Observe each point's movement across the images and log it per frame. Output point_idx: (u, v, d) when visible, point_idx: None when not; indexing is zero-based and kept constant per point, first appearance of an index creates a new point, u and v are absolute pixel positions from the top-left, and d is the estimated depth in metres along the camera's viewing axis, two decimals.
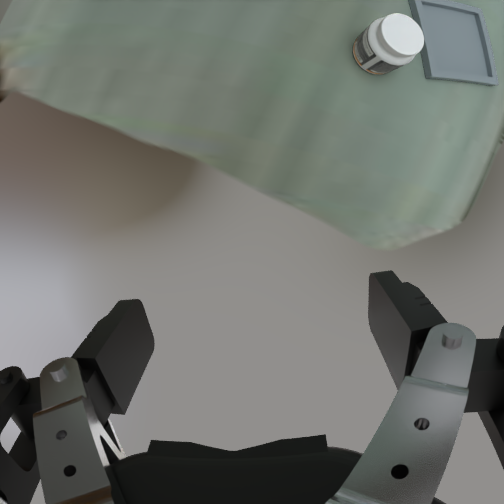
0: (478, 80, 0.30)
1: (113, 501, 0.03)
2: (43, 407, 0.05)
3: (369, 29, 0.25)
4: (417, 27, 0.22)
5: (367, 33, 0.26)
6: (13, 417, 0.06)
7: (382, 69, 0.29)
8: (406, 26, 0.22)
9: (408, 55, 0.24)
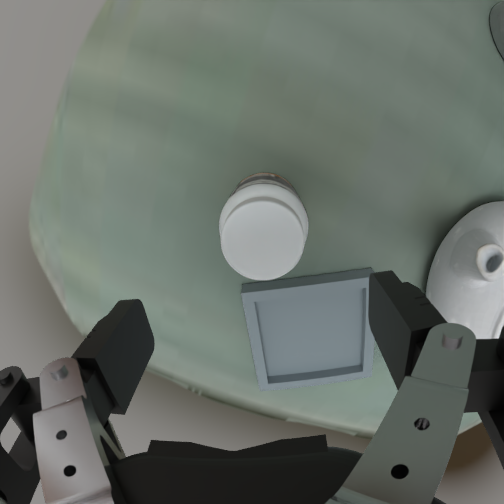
0: (256, 363, 0.31)
1: (113, 501, 0.03)
2: (43, 407, 0.05)
3: (276, 186, 0.19)
4: (282, 270, 0.18)
5: (270, 183, 0.20)
6: (13, 417, 0.06)
7: None
8: (280, 249, 0.18)
9: (222, 248, 0.18)
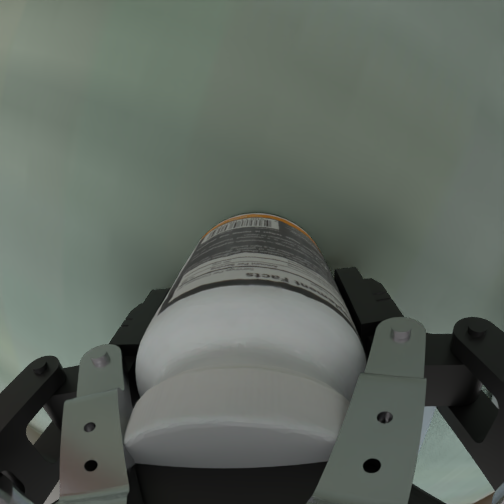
0: None
1: (113, 501, 0.03)
2: (78, 394, 0.06)
3: (289, 298, 0.06)
4: None
5: (269, 284, 0.07)
6: (47, 408, 0.07)
7: None
8: None
9: None
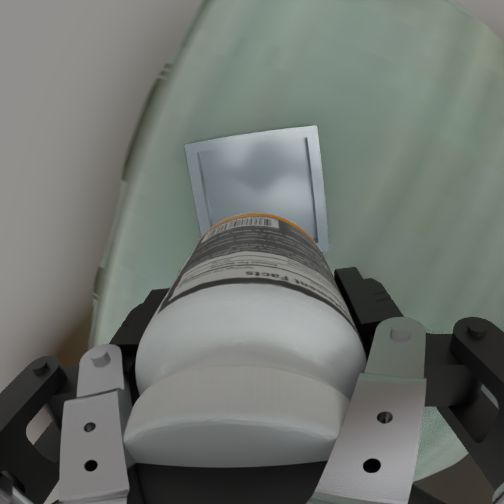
0: (228, 138, 0.28)
1: (113, 501, 0.03)
2: (78, 394, 0.06)
3: (288, 297, 0.06)
4: None
5: (269, 282, 0.07)
6: (47, 408, 0.07)
7: None
8: None
9: None
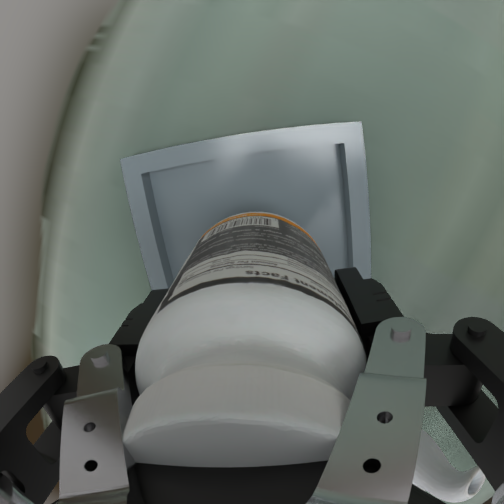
0: (196, 145, 0.15)
1: (113, 501, 0.03)
2: (78, 394, 0.06)
3: (288, 296, 0.06)
4: None
5: (269, 281, 0.07)
6: (48, 408, 0.07)
7: None
8: None
9: None
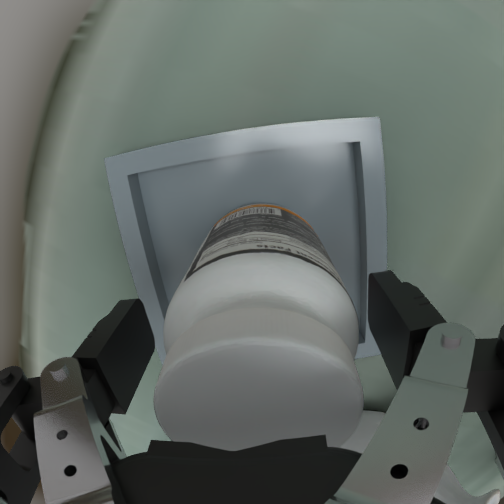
0: (189, 143, 0.13)
1: (113, 501, 0.03)
2: (44, 407, 0.05)
3: (291, 262, 0.08)
4: None
5: (276, 252, 0.08)
6: (14, 417, 0.06)
7: None
8: (301, 432, 0.06)
9: None
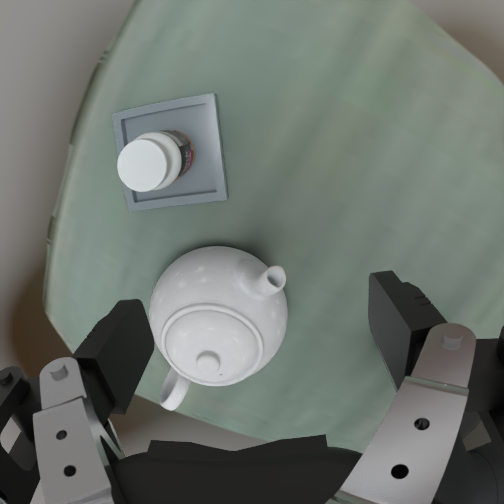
0: (143, 107, 0.32)
1: (113, 501, 0.03)
2: (43, 408, 0.05)
3: (158, 133, 0.27)
4: (153, 184, 0.26)
5: (156, 132, 0.28)
6: (13, 417, 0.06)
7: None
8: (151, 169, 0.26)
9: None
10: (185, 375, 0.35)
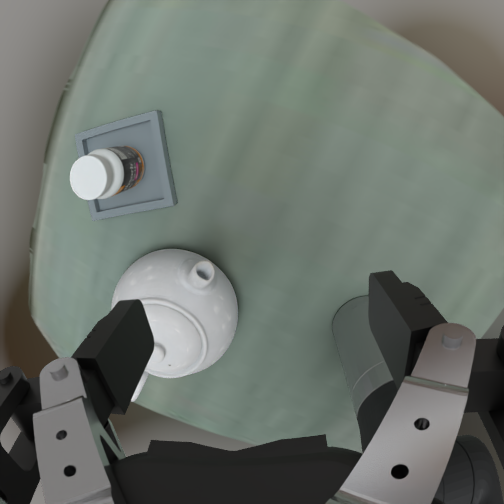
0: (99, 127, 0.35)
1: (113, 501, 0.03)
2: (43, 407, 0.05)
3: (104, 149, 0.31)
4: (98, 192, 0.29)
5: (102, 148, 0.31)
6: (13, 417, 0.06)
7: None
8: (95, 180, 0.29)
9: None
10: None
